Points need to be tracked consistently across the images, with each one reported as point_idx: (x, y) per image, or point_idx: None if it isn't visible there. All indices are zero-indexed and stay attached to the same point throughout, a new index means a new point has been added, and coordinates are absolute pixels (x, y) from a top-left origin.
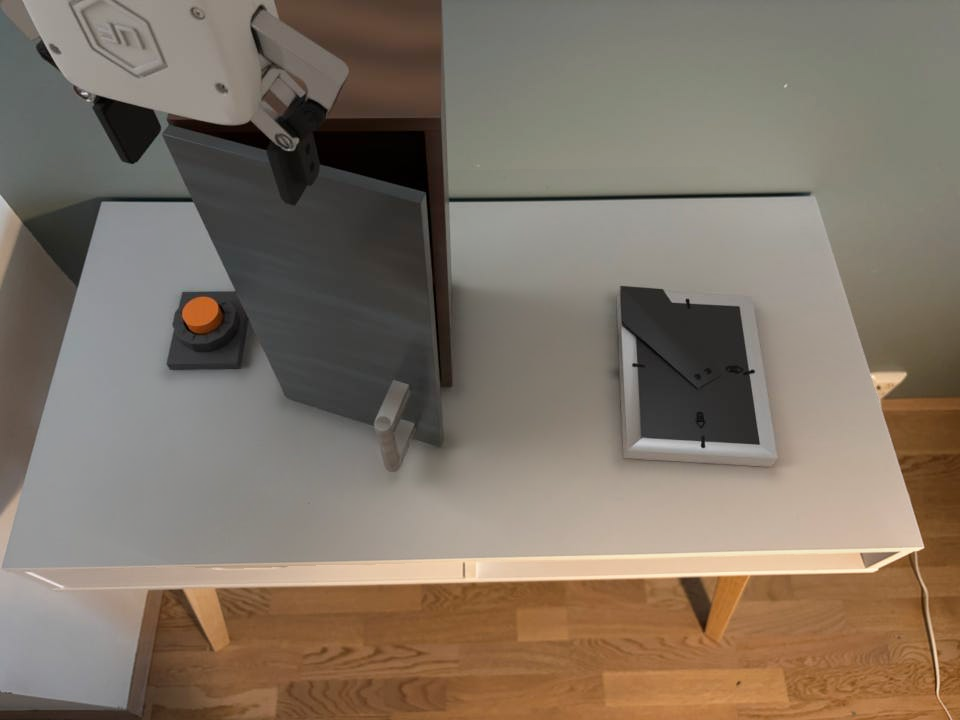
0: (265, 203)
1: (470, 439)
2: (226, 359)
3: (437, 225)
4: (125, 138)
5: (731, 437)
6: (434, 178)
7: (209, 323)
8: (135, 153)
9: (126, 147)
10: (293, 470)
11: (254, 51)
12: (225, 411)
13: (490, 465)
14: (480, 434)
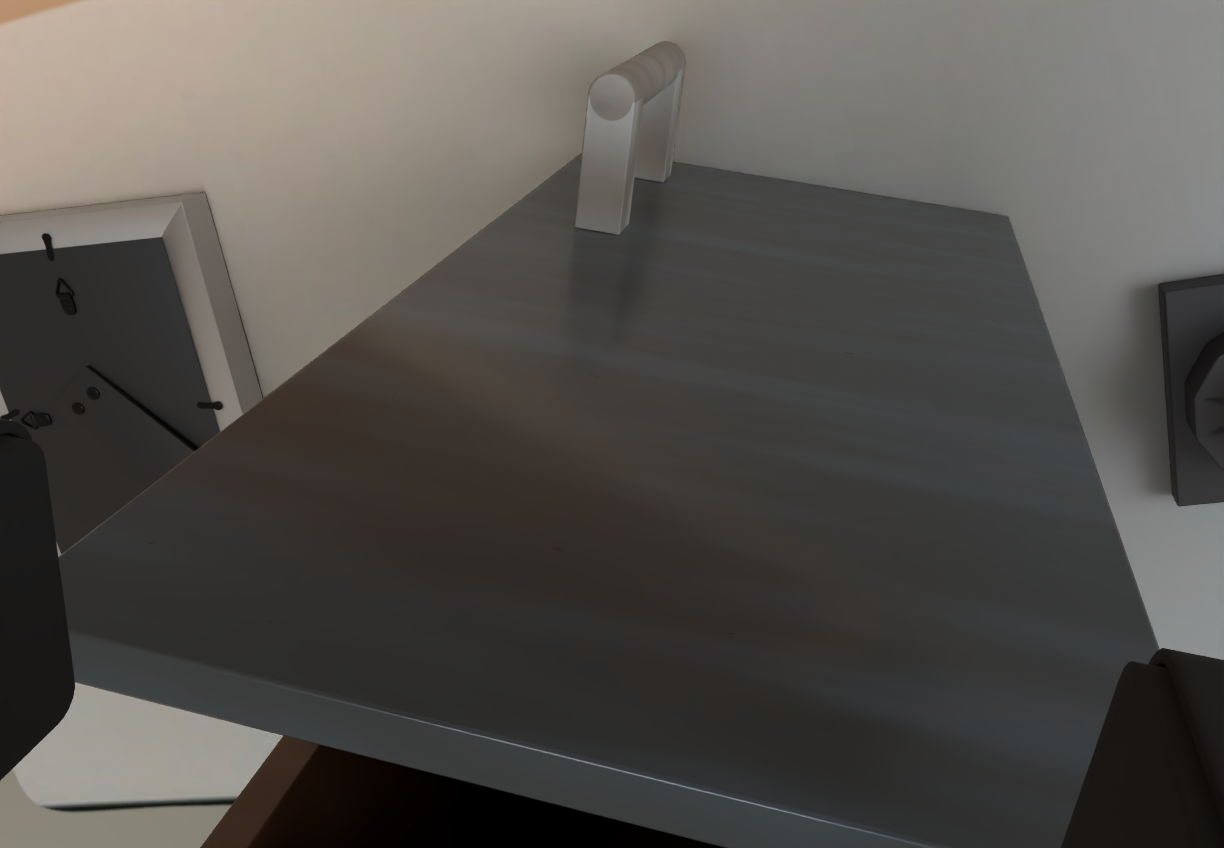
0: (784, 626)
1: (527, 180)
2: (1199, 298)
3: None
4: (1164, 835)
5: (2, 266)
6: (286, 767)
7: None
8: (1125, 727)
9: (1163, 759)
10: (941, 15)
11: None
12: (1174, 151)
13: (467, 123)
14: (508, 197)
